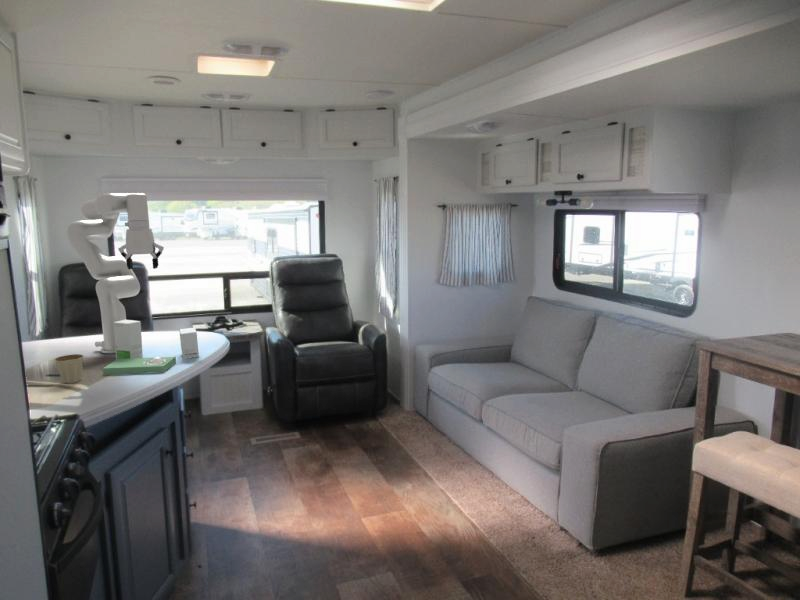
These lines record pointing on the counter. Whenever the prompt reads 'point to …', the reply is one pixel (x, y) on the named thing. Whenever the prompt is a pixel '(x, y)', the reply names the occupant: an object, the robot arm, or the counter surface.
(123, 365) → the putting mat
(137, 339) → the skincare box
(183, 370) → the counter surface
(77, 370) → the flower pot
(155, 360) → the ball
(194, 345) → the skincare box
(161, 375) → the counter surface
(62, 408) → the counter surface
